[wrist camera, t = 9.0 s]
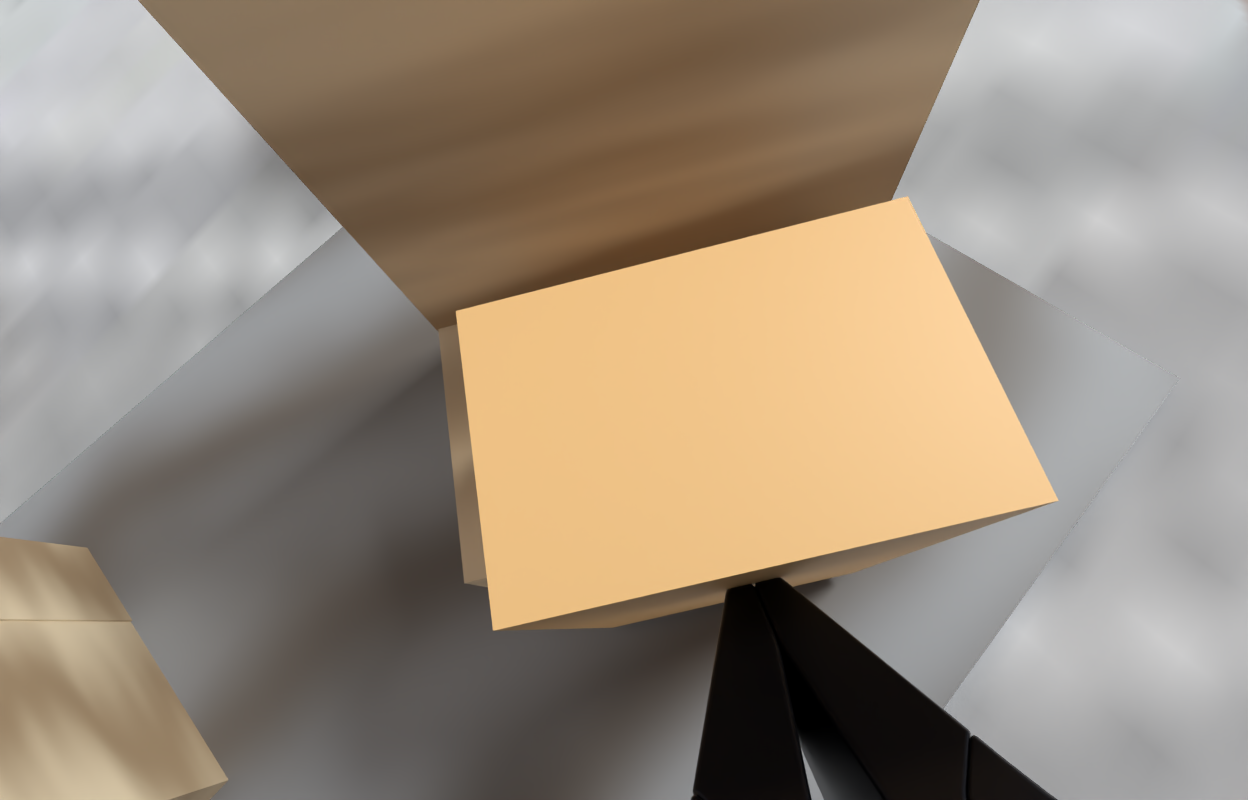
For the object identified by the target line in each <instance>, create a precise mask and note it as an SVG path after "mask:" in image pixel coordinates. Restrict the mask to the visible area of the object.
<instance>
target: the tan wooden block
mask: <svg viewBox="0 0 1248 800" xmlns="http://www.w3.org/2000/svg"><path fill="white" fill-rule="evenodd" d="M456 317H457V326H458V334H459V343H460V352H461V360H462V369H463V377H464V386H465V395H466V403H467V412H468V420H469V429H470V437H471V446H472V455H473V463H474V472H475V480H476V489H477V497H478V506H479V515H480V523H481V532H482V540H483V549H484V557H485V566H486V575H487V583H488V592H489V600H490V609H491V617H492V626H493V631H505V630H543V629H581V628H614V627H618V626H623V625H627V624H632V623H636V622H640V621H645V620H649V619H654V618H658V617H662V616H667V615H671V614H675V613H680V612H684V611H689V610H693V609H697V608H702V607H706V606H710V605H715V604H719V603H724V600H725V594H726V591H727V589H730V588H735V587H739V586H743V585H748V584H752V585H753V586H755V583H757V582H761V581H765V580H769V579H774V578H778V577H780V578H783V579H784V580H785V581H786V582H788V583H789V584H790V585H791V586H793V587H794V586H798V585H802V584H807V583H811V582H816V581H820V580H824V579H829V578H833V577H838V576H842V575H846V574H851V573H854V572H857V571H860V570H863V569H866V568H868V567H871V566H874V565H877V564H880V563H883V562H886V561H888V560H891V559H894V558H897V557H900V556H903V555H905V554H908V553H911V552H914V551H917V550H920V549H923V548H925V547H928V546H931V545H934V544H937V543H940V542H943V541H945V540H948V539H951V538H954V537H957V536H960V535H962V534H965V533H968V532H971V531H974V530H977V529H980V528H982V527H985V526H988V525H991V524H994V523H997V522H1000V521H1002V520H1005V519H1008V518H1011V517H1014V516H1017V515H1019V514H1022V513H1025V512H1028V511H1031V510H1034V509H1037V508H1039V507H1042V506H1045V505H1048V504H1051V503H1054V502H1057V501H1059V500H1058V498H1057V496H1056V494H1055V492H1054V490H1053V488H1052V486H1051V484H1050V482H1049V480H1048V478H1047V476H1046V474H1045V472H1044V470H1043V468H1042V466H1041V464H1040V462H1039V460H1038V458H1037V456H1036V454H1035V452H1034V450H1033V448H1032V446H1031V444H1030V442H1029V440H1028V438H1027V436H1026V434H1025V432H1024V430H1023V428H1022V426H1021V424H1020V422H1019V420H1018V418H1017V416H1016V414H1015V412H1014V410H1013V408H1012V406H1011V404H1010V401H1009V399H1008V397H1007V395H1006V393H1005V391H1004V389H1003V387H1002V385H1001V383H1000V381H999V379H998V377H997V375H996V373H995V371H994V369H993V367H992V365H991V363H990V361H989V359H988V357H987V355H986V353H985V351H984V349H983V347H982V345H981V343H980V341H979V339H978V337H977V335H976V333H975V331H974V329H973V327H972V325H971V323H970V321H969V319H968V317H967V315H966V313H965V311H964V309H963V307H962V305H961V303H960V301H959V299H958V297H957V295H956V293H955V291H954V289H953V287H952V285H951V283H950V280H949V278H948V276H947V274H946V272H945V270H944V268H943V266H942V264H941V262H940V260H939V258H938V256H937V254H936V252H935V250H934V248H933V246H932V244H931V242H930V240H929V238H928V236H927V234H926V232H925V230H924V228H923V226H922V224H921V222H920V220H919V218H918V216H917V214H916V212H915V210H914V208H913V206H912V204H911V202H910V200H909V198H908V196H907V197H904V198H900V199H896V200H892V201H888V202H884V203H880V204H876V205H872V206H868V207H864V208H860V209H856V210H852V211H848V212H844V213H840V214H836V215H833V216H829V217H825V218H821V219H817V220H813V221H809V222H805V223H801V224H797V225H793V226H789V227H785V228H781V229H777V230H773V231H769V232H765V233H762V234H758V235H754V236H750V237H746V238H742V239H738V240H734V241H730V242H726V243H722V244H718V245H714V246H710V247H706V248H702V249H698V250H695V251H691V252H687V253H683V254H679V255H675V256H671V257H667V258H663V259H659V260H655V261H651V262H647V263H643V264H639V265H635V266H631V267H627V268H624V269H620V270H616V271H612V272H608V273H604V274H600V275H596V276H592V277H588V278H584V279H580V280H576V281H572V282H568V283H564V284H560V285H556V286H553V287H549V288H545V289H541V290H537V291H533V292H529V293H525V294H521V295H517V296H513V297H509V298H505V299H501V300H497V301H493V302H489V303H486V304H482V305H478V306H474V307H470V308H466V309H462V310H458V311H456Z"/></svg>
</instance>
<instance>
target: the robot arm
mask: <svg viewBox="0 0 1248 800" xmlns="http://www.w3.org/2000/svg"><path fill="white" fill-rule="evenodd" d="M801 749H802V750H801ZM802 751H803V753H804V756H805V758H806V760H807V762H808V765H809V767H810V769H811V771H812V774H813V776H814V778H815V780H816V783H817V785H818V787H819V789H820V792H821V794H822V796H823V798H824V800H1057V799H1056V798H1054V797H1053V796H1052V795H1050V794H1049V793H1048V792H1046V791H1045V790H1044V789H1042V788H1041V787H1040V786H1039V785H1037V784H1036V783H1035V782H1033V781H1032V780H1031V779H1030V778H1028V777H1027V776H1026V775H1024V774H1023V773H1022V772H1021V771H1019V770H1018V769H1017V768H1015V767H1014V766H1013V765H1012V764H1010V763H1009V762H1008V761H1006V760H1005V759H1004V758H1003V757H1001V756H1000V755H999V754H998V753H996V752H995V751H994V750H993V749H992V748H990V747H989V746H988V745H987V744H986V743H984V742H983V741H982V740H981V739H979V738H978V737H977V736H975V735H973V736H971V733H970V731H969V730H968V729H967V728H966V727H964V726H963V725H962V724H961V723H959V722H958V721H957V720H956V719H955V718H953V717H952V716H951V715H950V714H948V713H947V712H946V711H945V710H944V709H942V708H941V707H940V706H939V705H937V704H936V703H935V702H934V701H932V700H931V699H930V698H929V697H928V696H926V695H925V694H924V693H923V692H921V691H920V690H919V689H918V688H916V687H915V686H914V685H913V684H912V683H910V682H909V681H908V680H907V679H905V678H904V677H903V676H902V675H901V674H899V673H898V672H897V671H896V670H894V669H893V668H892V667H891V666H889V665H888V664H887V663H886V662H885V661H883V660H882V659H881V658H880V657H878V656H877V655H876V654H875V653H874V652H872V651H871V650H870V649H869V648H867V647H866V646H865V645H864V644H862V643H861V642H860V641H859V640H858V639H856V638H855V637H854V636H853V635H851V634H850V633H849V632H848V631H847V630H845V629H844V628H843V627H842V626H840V625H839V624H838V623H837V622H835V621H834V620H833V619H832V618H831V617H829V616H828V615H827V614H826V613H824V612H823V611H822V610H821V609H820V608H818V607H817V606H816V605H815V604H813V603H812V602H811V601H810V600H808V599H807V598H806V597H805V596H804V595H802V594H801V593H800V592H799V591H797V590H796V589H795V588H794V587H793V586H791V585H790V584H789V583H788V582H786V581H785V580H784V579H783V578H780V577H778V578H774V579H769V580H765V581H761V582H757V583H755V586H753V585H752V584H748V585H743V586H739V587H735V588H730V589H727V591H726V594H725V600H724V606H723V612H722V618H721V624H720V630H719V636H718V642H717V648H716V654H715V660H714V666H713V672H712V677H711V683H710V689H709V695H708V701H707V707H706V713H705V719H704V725H703V731H702V737H701V743H700V749H699V755H698V761H697V767H696V773H695V779H694V785H693V796H692V797H691V800H812V798H811V794H810V789H809V784H808V779H807V774H806V770H805V765H804V760H803V755H802Z"/></svg>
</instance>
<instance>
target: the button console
mask: <svg viewBox="0 0 1248 800" xmlns="http://www.w3.org/2000/svg"><path fill="white" fill-rule="evenodd" d="M138 1H139V2H140V3H141V4H142V5H143V6H144V7H145V8H146V10H147V11H148V12H149V13H150V14H151V15H152V16H153V17H154V18H155V19H156V21H157V22H158V23H159V24H160V25H161V26H162V27H163V28H164V29H165V31H166V32H167V33H168V34H169V35H170V36H171V37H172V38H173V39H174V40H175V42H176V43H177V44H178V45H179V46H180V47H181V48H182V49H183V50H184V52H185V53H186V54H187V55H188V56H189V57H190V58H191V59H192V60H193V61H194V63H195V64H196V65H197V66H198V67H199V68H200V69H201V70H202V71H203V73H204V74H205V75H206V76H207V77H208V78H209V79H210V80H211V81H212V82H213V84H214V85H215V86H216V87H217V88H218V89H219V90H220V91H221V92H222V94H223V95H224V96H225V97H226V98H227V99H228V100H229V101H230V102H231V103H232V105H233V106H234V107H235V108H236V109H237V110H238V111H239V112H240V113H241V115H242V116H243V117H244V118H245V119H246V120H247V121H248V122H249V123H250V124H251V126H252V127H253V128H254V129H255V130H256V131H257V132H258V133H259V134H260V136H261V137H262V138H263V139H264V140H265V141H266V142H267V143H268V144H269V145H270V147H271V148H272V149H273V150H274V151H275V152H276V153H277V154H278V155H279V157H280V158H281V159H282V160H283V161H284V162H285V163H286V164H287V165H288V166H289V168H290V169H291V170H292V171H293V172H294V173H295V174H296V175H297V176H298V177H299V179H300V180H301V181H302V182H303V183H304V184H305V185H306V186H307V187H308V189H309V190H310V191H311V192H312V193H313V194H314V195H315V196H316V197H317V198H318V200H319V201H320V202H321V203H322V204H323V205H324V206H325V207H326V208H327V210H328V211H329V212H330V213H331V214H332V215H333V216H334V217H335V218H336V219H337V221H338V222H339V223H340V224H341V225H342V226H343V227H342V228H341V229H340V230H339V231H338V232H337V233H335V234H334V235H333V236H332V237H331V238H330V239H328V240H327V241H326V242H325V243H324V244H323V245H322V246H320V247H319V248H318V249H317V250H316V251H315V252H313V253H312V254H311V255H310V256H309V257H308V258H306V259H305V260H304V261H303V262H302V263H301V264H300V265H298V266H297V267H296V268H295V269H294V270H293V271H291V272H290V273H289V274H288V275H287V276H286V277H284V278H283V279H282V280H281V281H280V282H279V283H278V284H276V285H275V286H274V287H273V288H272V289H271V290H269V291H268V292H267V293H266V294H265V295H264V296H263V297H261V298H260V299H259V300H258V301H257V302H256V303H254V304H253V305H252V306H251V307H250V308H249V309H247V310H246V311H245V312H244V313H243V314H242V315H241V316H239V317H238V318H237V319H236V320H235V321H234V322H232V323H231V324H230V325H229V326H228V327H227V328H226V329H224V330H223V331H222V332H221V333H220V334H219V335H217V336H216V337H215V338H214V339H213V340H212V341H210V342H209V343H208V344H207V345H206V346H205V347H204V348H202V349H201V350H200V351H199V352H198V353H197V354H195V355H194V356H193V357H192V358H191V359H190V360H189V361H187V362H186V363H185V364H184V365H183V366H182V367H180V368H179V369H178V370H177V371H176V372H175V373H173V374H172V375H171V376H170V377H169V378H168V379H167V380H165V381H164V382H163V383H162V384H161V385H160V386H158V387H157V388H156V389H155V390H154V391H153V392H152V393H150V394H149V395H148V396H147V397H146V398H145V399H143V400H142V401H141V402H140V403H139V404H138V405H136V406H135V407H134V408H133V409H132V410H131V411H130V412H128V413H127V414H126V415H125V416H124V417H123V418H121V419H120V420H119V421H118V422H117V423H116V424H115V425H113V426H112V427H111V428H110V429H109V430H108V431H106V432H105V433H104V434H103V435H102V436H101V437H99V438H98V439H97V440H96V441H95V442H94V443H93V444H91V445H90V446H89V447H88V448H87V449H86V450H84V451H83V452H82V453H81V454H80V455H79V456H77V457H76V458H75V459H74V460H73V461H72V462H71V463H69V464H68V465H67V466H66V467H65V468H64V469H62V470H61V471H60V472H59V473H58V474H57V475H56V476H54V477H53V478H52V479H51V480H50V481H49V482H47V483H46V484H45V485H44V486H43V487H42V488H40V489H39V490H38V491H37V492H36V493H35V494H34V495H32V496H31V497H30V498H29V499H28V500H27V501H25V502H24V503H23V504H22V505H21V506H20V507H19V508H17V509H16V510H15V511H14V512H13V513H12V514H10V515H9V516H8V517H7V518H6V519H5V520H3V521H2V522H1V523H0V800H691V797H692V796H693V785H694V779H695V773H696V767H697V761H698V755H699V749H700V743H701V737H702V731H703V725H704V719H705V713H706V707H707V701H708V695H709V689H710V683H711V677H712V672H713V666H714V660H715V654H716V648H717V642H718V636H719V630H720V624H721V618H722V612H723V606H724V603H719V604H715V605H710V606H706V607H702V608H697V609H693V610H689V611H684V612H680V613H675V614H671V615H667V616H662V617H658V618H654V619H649V620H645V621H640V622H636V623H632V624H627V625H623V626H618V627H614V628H581V629H543V630H505V631H493V626H492V617H491V609H490V600H489V592H488V583H487V575H486V566H485V557H484V549H483V540H482V532H481V523H480V515H479V506H478V497H477V489H476V480H475V472H474V463H473V455H472V446H471V437H470V429H469V420H468V412H467V403H466V395H465V386H464V377H463V369H462V360H461V352H460V343H459V334H458V326H457V317H456V311H458V310H462V309H466V308H470V307H474V306H478V305H482V304H486V303H489V302H493V301H497V300H501V299H505V298H509V297H513V296H517V295H521V294H525V293H529V292H533V291H537V290H541V289H545V288H549V287H553V286H556V285H560V284H564V283H568V282H572V281H576V280H580V279H584V278H588V277H592V276H596V275H600V274H604V273H608V272H612V271H616V270H620V269H624V268H627V267H631V266H635V265H639V264H643V263H647V262H651V261H655V260H659V259H663V258H667V257H671V256H675V255H679V254H683V253H687V252H691V251H695V250H698V249H702V248H706V247H710V246H714V245H718V244H722V243H726V242H730V241H734V240H738V239H742V238H746V237H750V236H754V235H758V234H762V233H765V232H769V231H773V230H777V229H781V228H785V227H789V226H793V225H797V224H801V223H805V222H809V221H813V220H817V219H821V218H825V217H829V216H833V215H836V214H840V213H844V212H848V211H852V210H856V209H860V208H864V207H868V206H872V205H876V204H880V203H884V202H888V201H891V200H892V198H893V195H894V193H895V191H896V189H897V186H898V184H899V182H900V180H901V177H902V175H903V173H904V171H905V168H906V166H907V164H908V161H909V159H910V157H911V155H912V152H913V150H914V148H915V146H916V143H917V141H918V139H919V137H920V134H921V132H922V130H923V127H924V125H925V123H926V121H927V118H928V116H929V114H930V112H931V109H932V107H933V105H934V103H935V100H936V98H937V96H938V93H939V91H940V89H941V87H942V84H943V82H944V80H945V78H946V75H947V73H948V71H949V69H950V66H951V64H952V62H953V60H954V57H955V55H956V53H957V50H958V48H959V46H960V44H961V41H962V39H963V37H964V35H965V32H966V30H967V28H968V26H969V23H970V21H971V19H972V16H973V14H974V12H975V10H976V7H977V5H978V3H979V1H980V0H138ZM926 234H927V236H928V238H929V240H930V242H931V244H932V246H933V248H934V250H935V252H936V254H937V256H938V258H939V260H940V262H941V264H942V266H943V268H944V270H945V272H946V274H947V276H948V278H949V280H950V283H951V285H952V287H953V289H954V291H955V293H956V295H957V297H958V299H959V301H960V303H961V305H962V307H963V309H964V311H965V313H966V315H967V317H968V319H969V321H970V323H971V325H972V327H973V329H974V331H975V333H976V335H977V337H978V339H979V341H980V343H981V345H982V347H983V349H984V351H985V353H986V355H987V357H988V359H989V361H990V363H991V365H992V367H993V369H994V371H995V373H996V375H997V377H998V379H999V381H1000V383H1001V385H1002V387H1003V389H1004V391H1005V393H1006V395H1007V397H1008V399H1009V401H1010V404H1011V406H1012V408H1013V410H1014V412H1015V414H1016V416H1017V418H1018V420H1019V422H1020V424H1021V426H1022V428H1023V430H1024V432H1025V434H1026V436H1027V438H1028V440H1029V442H1030V444H1031V446H1032V448H1033V450H1034V452H1035V454H1036V456H1037V458H1038V460H1039V462H1040V464H1041V466H1042V468H1043V470H1044V472H1045V474H1046V476H1047V478H1048V480H1049V482H1050V484H1051V486H1052V488H1053V490H1054V492H1055V494H1056V496H1057V498H1058V500H1059V501H1057V502H1054V503H1051V504H1048V505H1045V506H1042V507H1039V508H1037V509H1034V510H1031V511H1028V512H1025V513H1022V514H1019V515H1017V516H1014V517H1011V518H1008V519H1005V520H1002V521H1000V522H997V523H994V524H991V525H988V526H985V527H982V528H980V529H977V530H974V531H971V532H968V533H965V534H962V535H960V536H957V537H954V538H951V539H948V540H945V541H943V542H940V543H937V544H934V545H931V546H928V547H925V548H923V549H920V550H917V551H914V552H911V553H908V554H905V555H903V556H900V557H897V558H894V559H891V560H888V561H886V562H883V563H880V564H877V565H874V566H871V567H868V568H866V569H863V570H860V571H857V572H854V573H851V574H846V575H842V576H838V577H833V578H829V579H824V580H820V581H816V582H811V583H807V584H802V585H798V586H794V588H795V589H796V590H797V591H799V592H800V593H801V594H802V595H804V596H805V597H806V598H807V599H808V600H810V601H811V602H812V603H813V604H815V605H816V606H817V607H818V608H820V609H821V610H822V611H823V612H824V613H826V614H827V615H828V616H829V617H831V618H832V619H833V620H834V621H835V622H837V623H838V624H839V625H840V626H842V627H843V628H844V629H845V630H847V631H848V632H849V633H850V634H851V635H853V636H854V637H855V638H856V639H858V640H859V641H860V642H861V643H862V644H864V645H865V646H866V647H867V648H869V649H870V650H871V651H872V652H874V653H875V654H876V655H877V656H878V657H880V658H881V659H882V660H883V661H885V662H886V663H887V664H888V665H889V666H891V667H892V668H893V669H894V670H896V671H897V672H898V673H899V674H901V675H902V676H903V677H904V678H905V679H907V680H908V681H909V682H910V683H912V684H913V685H914V686H915V687H916V688H918V689H919V690H920V691H921V692H923V693H924V694H925V695H926V696H928V697H929V698H930V699H931V700H932V701H934V702H935V703H936V704H937V705H939V706H940V707H941V708H942V709H944V707H945V706H946V704H947V703H948V702H949V700H950V699H951V697H952V696H953V695H954V693H955V692H956V690H957V689H958V688H959V686H960V685H961V683H962V682H963V681H964V679H965V678H966V676H967V675H968V674H969V672H970V671H971V669H972V668H973V667H974V665H975V664H976V663H977V661H978V660H979V658H980V657H981V656H982V654H983V653H984V651H985V650H986V649H987V647H988V646H989V644H990V643H991V642H992V640H993V639H994V637H995V636H996V635H997V633H998V632H999V630H1000V629H1001V628H1002V626H1003V625H1004V623H1005V622H1006V621H1007V619H1008V618H1009V617H1010V615H1011V614H1012V612H1013V611H1014V610H1015V608H1016V607H1017V605H1018V604H1019V603H1020V601H1021V600H1022V598H1023V597H1024V596H1025V594H1026V593H1027V591H1028V590H1029V589H1030V587H1031V586H1032V584H1033V583H1034V582H1035V580H1036V579H1037V577H1038V576H1039V575H1040V573H1041V572H1042V571H1043V569H1044V568H1045V566H1046V565H1047V564H1048V562H1049V561H1050V559H1051V558H1052V557H1053V555H1054V554H1055V552H1056V551H1057V550H1058V548H1059V547H1060V545H1061V544H1062V543H1063V541H1064V540H1065V538H1066V537H1067V536H1068V534H1069V533H1070V531H1071V530H1072V529H1073V527H1074V526H1075V525H1076V523H1077V522H1078V520H1079V519H1080V518H1081V516H1082V515H1083V513H1084V512H1085V511H1086V509H1087V508H1088V506H1089V505H1090V504H1091V502H1092V501H1093V499H1094V498H1095V497H1096V495H1097V494H1098V492H1099V491H1100V490H1101V488H1102V487H1103V486H1104V484H1105V483H1106V481H1107V480H1108V479H1109V477H1110V476H1111V474H1112V473H1113V472H1114V470H1115V469H1116V467H1117V466H1118V465H1119V463H1120V462H1121V460H1122V459H1123V458H1124V456H1125V455H1126V453H1127V452H1128V451H1129V449H1130V448H1131V446H1132V445H1133V444H1134V442H1135V441H1136V440H1137V438H1138V437H1139V435H1140V434H1141V433H1142V431H1143V430H1144V428H1145V427H1146V426H1147V424H1148V423H1149V421H1150V420H1151V419H1152V417H1153V416H1154V414H1155V413H1156V412H1157V410H1158V409H1159V407H1160V406H1161V405H1162V403H1163V402H1164V400H1165V399H1166V398H1167V396H1168V395H1169V394H1170V392H1171V391H1172V389H1173V388H1174V387H1175V385H1176V384H1177V382H1178V381H1179V380H1180V378H1179V377H1177V376H1176V375H1174V374H1172V373H1170V372H1169V371H1167V370H1165V369H1163V368H1162V367H1160V366H1158V365H1156V364H1155V363H1153V362H1151V361H1149V360H1148V359H1146V358H1144V357H1142V356H1141V355H1139V354H1137V353H1135V352H1134V351H1132V350H1130V349H1128V348H1127V347H1125V346H1123V345H1121V344H1120V343H1118V342H1116V341H1114V340H1113V339H1111V338H1109V337H1107V336H1106V335H1104V334H1102V333H1101V332H1099V331H1097V330H1095V329H1094V328H1092V327H1090V326H1088V325H1087V324H1085V323H1083V322H1081V321H1080V320H1078V319H1076V318H1074V317H1073V316H1071V315H1069V314H1067V313H1066V312H1064V311H1062V310H1060V309H1059V308H1057V307H1055V306H1053V305H1052V304H1050V303H1048V302H1046V301H1045V300H1043V299H1041V298H1039V297H1038V296H1036V295H1034V294H1032V293H1031V292H1029V291H1027V290H1025V289H1024V288H1022V287H1020V286H1018V285H1017V284H1015V283H1013V282H1011V281H1010V280H1008V279H1006V278H1005V277H1003V276H1001V275H999V274H998V273H996V272H994V271H992V270H991V269H989V268H987V267H985V266H984V265H982V264H980V263H978V262H977V261H975V260H973V259H971V258H970V257H968V256H966V255H964V254H963V253H961V252H959V251H957V250H956V249H954V248H952V247H950V246H949V245H947V244H945V243H943V242H942V241H940V240H938V239H936V238H935V237H933V236H931V235H929V234H928V233H926ZM801 750H802V749H801ZM802 755H803V760H804V765H805V770H806V774H807V779H808V784H809V789H810V794H811V798H812V800H824V798H823V796H822V794H821V792H820V789H819V787H818V785H817V783H816V780H815V778H814V776H813V774H812V771H811V769H810V767H809V765H808V762H807V760H806V758H805V756H804V753H803V751H802Z"/></svg>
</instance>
